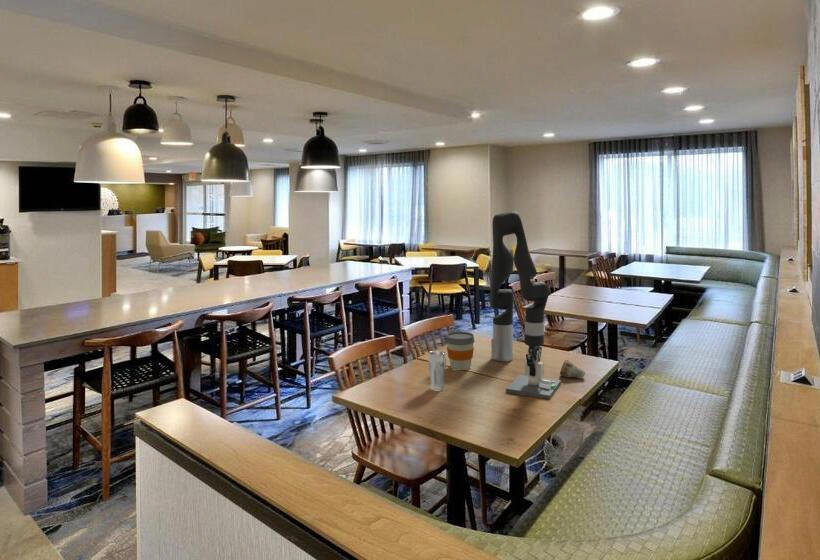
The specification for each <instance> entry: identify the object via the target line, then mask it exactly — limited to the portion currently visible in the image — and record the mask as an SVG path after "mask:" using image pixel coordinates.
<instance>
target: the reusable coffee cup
mask: <svg viewBox="0 0 820 560" xmlns="http://www.w3.org/2000/svg"><path fill="white" fill-rule="evenodd" d="M445 342H446V343H447V347H446V351H447V357H448V360H449V365H450V369H451V368H452V369H451V370H453V369H455V370H454V371H456V370H465V371H468V370H467V369H469V368H470V367H471V366H472V358H473V357H474V349H475V347H474V343H475V336H474V334H473V333H472V332H466V331H455V332H454V331H453V332H450V333H447V334H446V339H445ZM470 369H471V368H470ZM470 369H469V370H470Z"/></svg>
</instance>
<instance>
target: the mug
mask: <svg viewBox="0 0 820 560" xmlns="http://www.w3.org/2000/svg"><path fill="white" fill-rule="evenodd" d="M559 375H560V376H561V377H564V378H576V379H579V380H581V379H583V378H584V377H585V375H586V371H585V370H584V369H582V368H579V366H577V365H576V364H574V363H573V362H572V361H570V360H568V359H565V360H564V362H563V363H562V366H561V368H560V372H559Z"/></svg>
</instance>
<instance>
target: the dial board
mask: <svg viewBox="0 0 820 560" xmlns="http://www.w3.org/2000/svg"><path fill="white" fill-rule="evenodd" d="M542 379H544V380H549V381H551V384H550V385H548V384H544V383H540V384H539V385H537V386H533V385H529V384H528V376H525V374H519V375H518V376H517V377H516V378H515V379H514V380H513V381H512V382H511V383H510V384H508V386H507V387H505V393H508V392H510V393H509V394H514V393H516V394H515V395H520V394H523V395H522V396H526V395H529V396H528V397H532V396H535V397H534V398H539V397H542V398H541V399H545V398H547V399H546V400H550V399H551V398H552V397H553V395H554V394H555V393H556V392H557V390H558V389H559V387H560V386H561V384H562V383H561V380H560V379H555V378H549V377H547V378H546V377H543V378H542ZM554 392H555V393H554Z"/></svg>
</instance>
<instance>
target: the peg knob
mask: <svg viewBox="0 0 820 560" xmlns="http://www.w3.org/2000/svg"><path fill="white" fill-rule="evenodd" d="M531 364H532V363H531ZM544 369H545V363H544V362H542V361H540V362H537V361H536V370H535V376H530V375H529V371H530V367H528V366H527V360H526V359H525V360H524V375H525V376H528V384H529V385H533V386H537V385H539V384H540V383H544V384H548V385H550V384H551V381H549V380H544V379H542V378H545V377H544V376H545V374H544Z"/></svg>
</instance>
